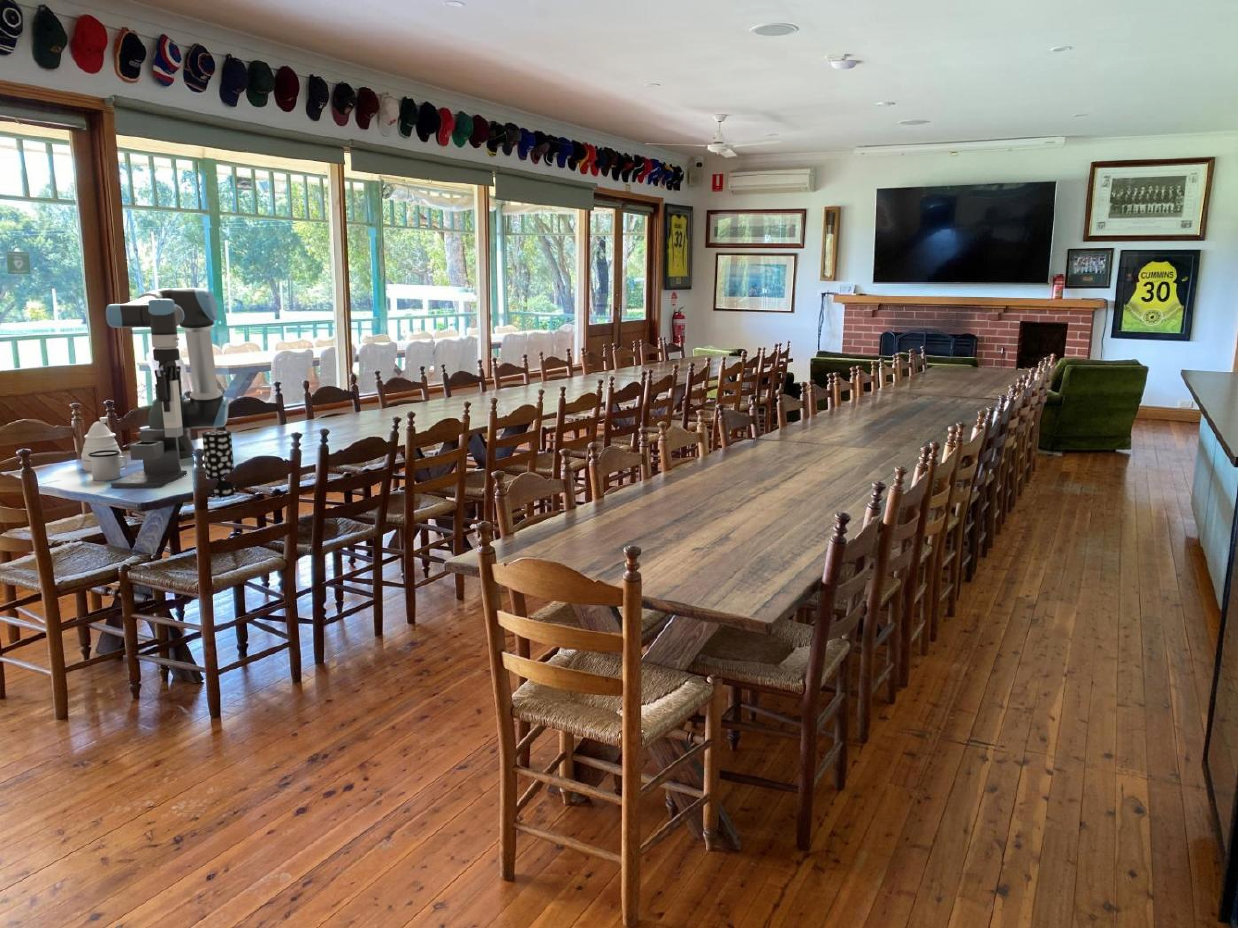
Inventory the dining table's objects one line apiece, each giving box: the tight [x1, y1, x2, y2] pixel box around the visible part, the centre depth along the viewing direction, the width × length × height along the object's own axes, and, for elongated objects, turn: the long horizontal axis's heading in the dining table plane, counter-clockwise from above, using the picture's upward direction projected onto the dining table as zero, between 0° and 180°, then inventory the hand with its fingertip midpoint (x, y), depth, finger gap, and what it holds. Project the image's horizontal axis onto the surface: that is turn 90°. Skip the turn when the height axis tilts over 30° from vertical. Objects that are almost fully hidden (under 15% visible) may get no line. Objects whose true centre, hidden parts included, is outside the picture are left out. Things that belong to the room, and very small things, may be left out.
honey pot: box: [80, 416, 124, 472], centre depth 331 cm, size 13×13×18 cm
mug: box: [88, 450, 128, 482], centre depth 315 cm, size 12×10×9 cm
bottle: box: [147, 383, 165, 430], centre depth 333 cm, size 9×9×30 cm
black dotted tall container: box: [201, 430, 237, 499], centre depth 290 cm, size 8×8×20 cm
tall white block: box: [162, 380, 183, 437], centre depth 297 cm, size 4×4×18 cm
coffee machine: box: [110, 429, 188, 489], centre depth 310 cm, size 20×16×16 cm
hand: (172, 420), depth 297 cm, fingers closed on tall white block, 4 cm apart
